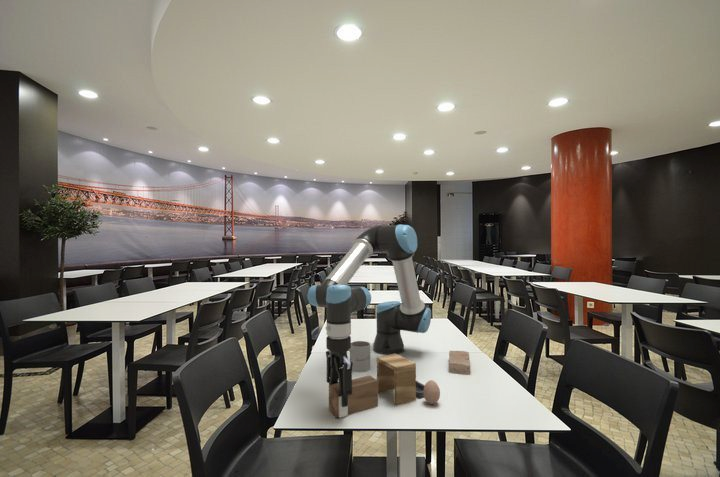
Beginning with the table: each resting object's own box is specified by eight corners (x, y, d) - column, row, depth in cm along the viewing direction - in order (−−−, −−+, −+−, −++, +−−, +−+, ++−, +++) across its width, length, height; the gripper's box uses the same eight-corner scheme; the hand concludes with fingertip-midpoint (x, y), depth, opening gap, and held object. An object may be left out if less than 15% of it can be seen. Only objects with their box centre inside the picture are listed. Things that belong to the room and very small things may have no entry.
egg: (440, 408, 105) (440, 384, 105) (423, 406, 106) (423, 383, 106) (439, 400, 110) (439, 377, 110) (423, 398, 111) (423, 376, 111)
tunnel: (376, 392, 116) (376, 357, 116) (395, 387, 120) (395, 353, 120) (396, 406, 106) (396, 367, 106) (415, 400, 110) (415, 363, 111)
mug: (369, 364, 143) (369, 340, 144) (371, 371, 135) (371, 346, 135) (340, 364, 142) (340, 341, 143) (341, 372, 134) (341, 347, 134)
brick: (470, 376, 131) (470, 364, 131) (448, 373, 134) (448, 361, 134) (468, 361, 147) (468, 351, 147) (449, 360, 150) (449, 349, 150)
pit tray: (398, 386, 121) (398, 381, 121) (411, 383, 124) (411, 378, 124) (418, 398, 111) (418, 393, 111) (432, 394, 114) (432, 389, 114)
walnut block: (328, 411, 103) (328, 385, 103) (369, 399, 111) (369, 375, 111) (336, 418, 99) (335, 391, 99) (378, 405, 106) (377, 380, 106)
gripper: (315, 330, 108) (315, 403, 108) (341, 345, 93) (341, 429, 92) (336, 327, 112) (336, 397, 112) (364, 341, 97) (364, 422, 96)
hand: (338, 411), depth 102 cm, fingers closed on walnut block, 5 cm apart
